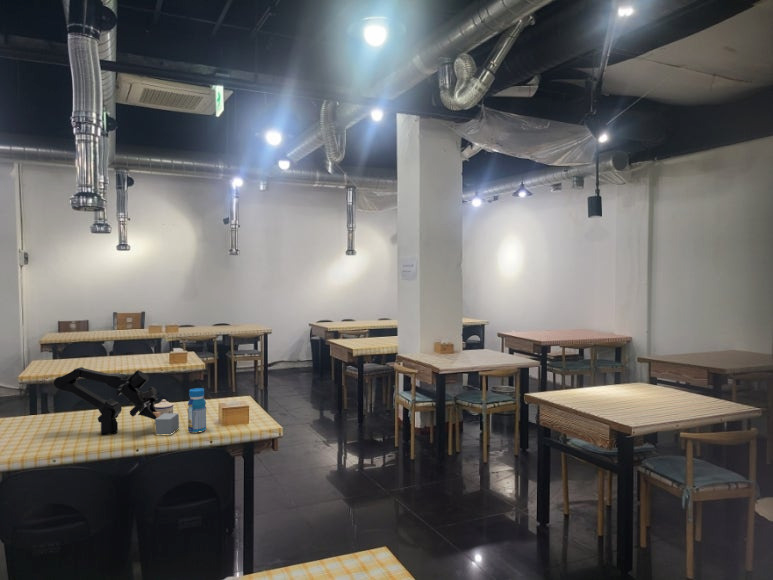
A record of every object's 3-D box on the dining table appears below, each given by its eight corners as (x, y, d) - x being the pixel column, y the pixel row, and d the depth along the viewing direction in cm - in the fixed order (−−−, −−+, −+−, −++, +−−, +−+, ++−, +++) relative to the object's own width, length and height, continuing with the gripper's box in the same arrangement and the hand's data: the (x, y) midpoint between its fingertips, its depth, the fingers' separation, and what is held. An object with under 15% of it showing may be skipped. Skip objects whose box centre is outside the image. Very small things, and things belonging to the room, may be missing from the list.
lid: (146, 420, 241) (146, 415, 241) (155, 414, 251) (155, 409, 251) (170, 420, 241) (170, 415, 241) (178, 414, 251) (178, 409, 251)
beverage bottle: (200, 434, 243) (199, 391, 243) (184, 433, 245) (183, 391, 244) (209, 429, 251) (209, 388, 251) (194, 428, 253) (193, 387, 253)
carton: (155, 435, 241) (155, 420, 241) (164, 429, 251) (164, 414, 251) (171, 435, 241) (170, 420, 241) (178, 429, 251) (178, 414, 251)
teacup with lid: (169, 425, 258) (169, 401, 258) (151, 425, 258) (150, 402, 257) (178, 418, 270) (178, 396, 270) (160, 418, 270) (160, 396, 269)
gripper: (136, 387, 236) (161, 411, 237) (153, 379, 255) (176, 401, 255) (119, 404, 236) (143, 428, 236) (137, 395, 254) (160, 417, 255)
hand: (157, 418), depth 246 cm, fingers closed on lid, 2 cm apart
